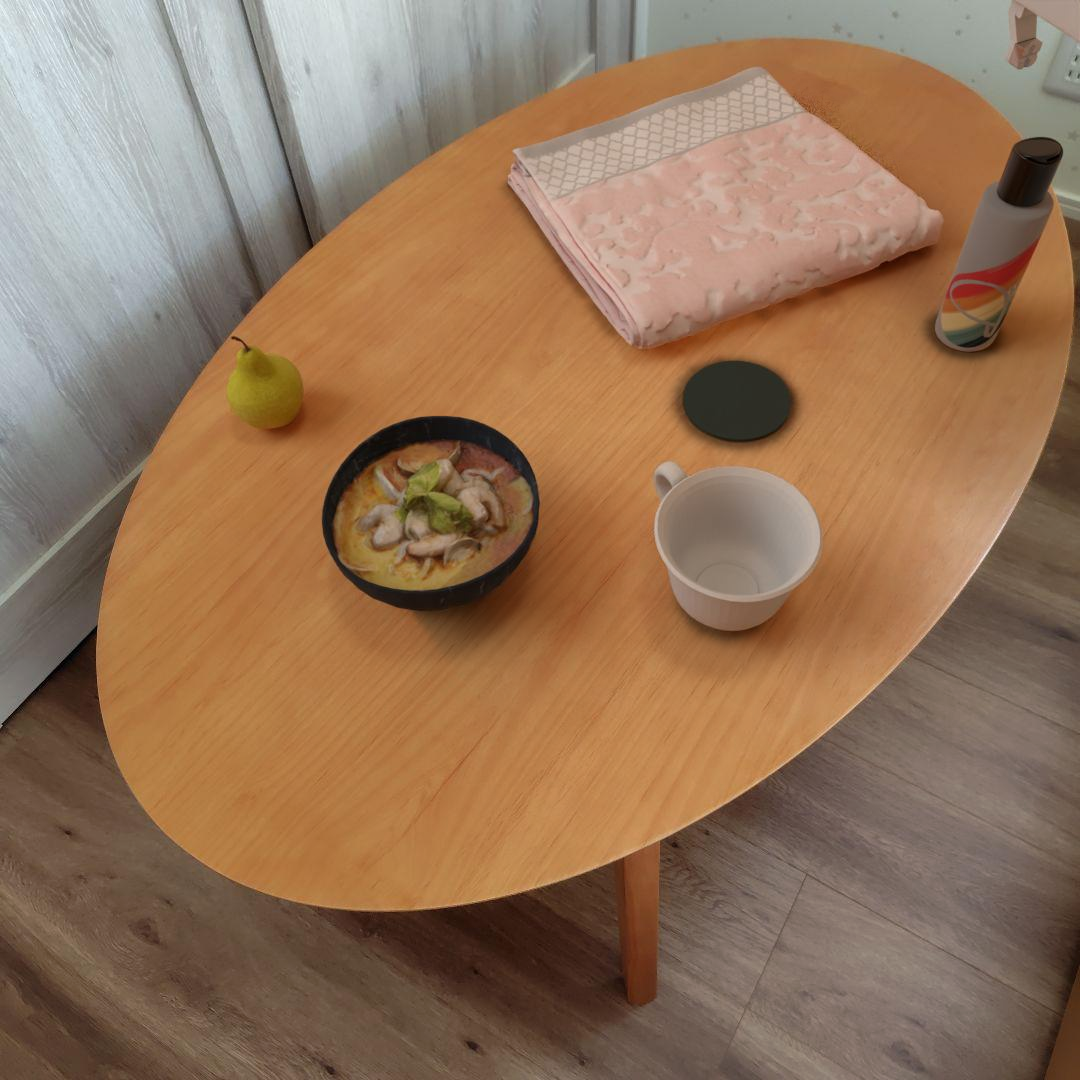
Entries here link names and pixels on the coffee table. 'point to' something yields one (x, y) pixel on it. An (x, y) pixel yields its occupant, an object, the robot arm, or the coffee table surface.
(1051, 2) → the robot arm
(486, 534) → the bowl
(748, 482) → the teacup
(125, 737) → the coffee table surface
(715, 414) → the coaster
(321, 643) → the coffee table surface
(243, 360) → the fruit
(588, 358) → the coffee table surface
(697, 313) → the towel
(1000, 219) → the lotion bottle
